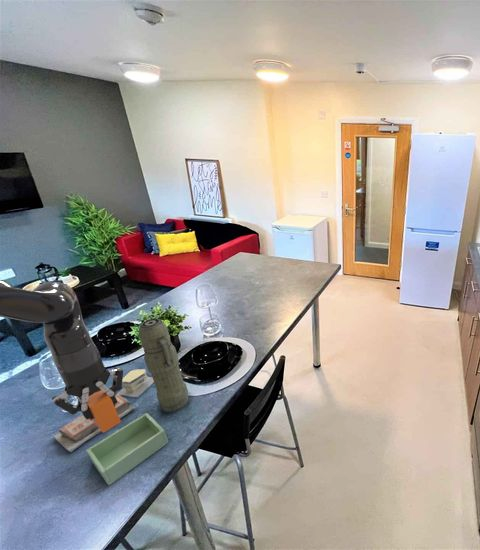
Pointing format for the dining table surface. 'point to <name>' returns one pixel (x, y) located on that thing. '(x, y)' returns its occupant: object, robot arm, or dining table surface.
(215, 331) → the dining table surface
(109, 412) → the block
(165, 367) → the thermos
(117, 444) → the bin
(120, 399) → the packaged product
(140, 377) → the stacked layers on plate
